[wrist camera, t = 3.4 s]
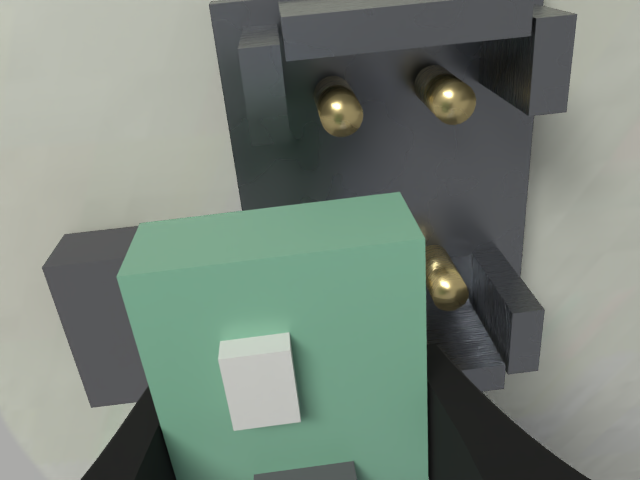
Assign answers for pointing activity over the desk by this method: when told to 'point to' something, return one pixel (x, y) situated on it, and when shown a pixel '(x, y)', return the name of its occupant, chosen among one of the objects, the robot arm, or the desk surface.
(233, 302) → the board
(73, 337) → the dark grey rectangular block
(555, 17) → the chassis
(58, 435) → the desk surface
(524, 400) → the desk surface
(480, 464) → the robot arm
